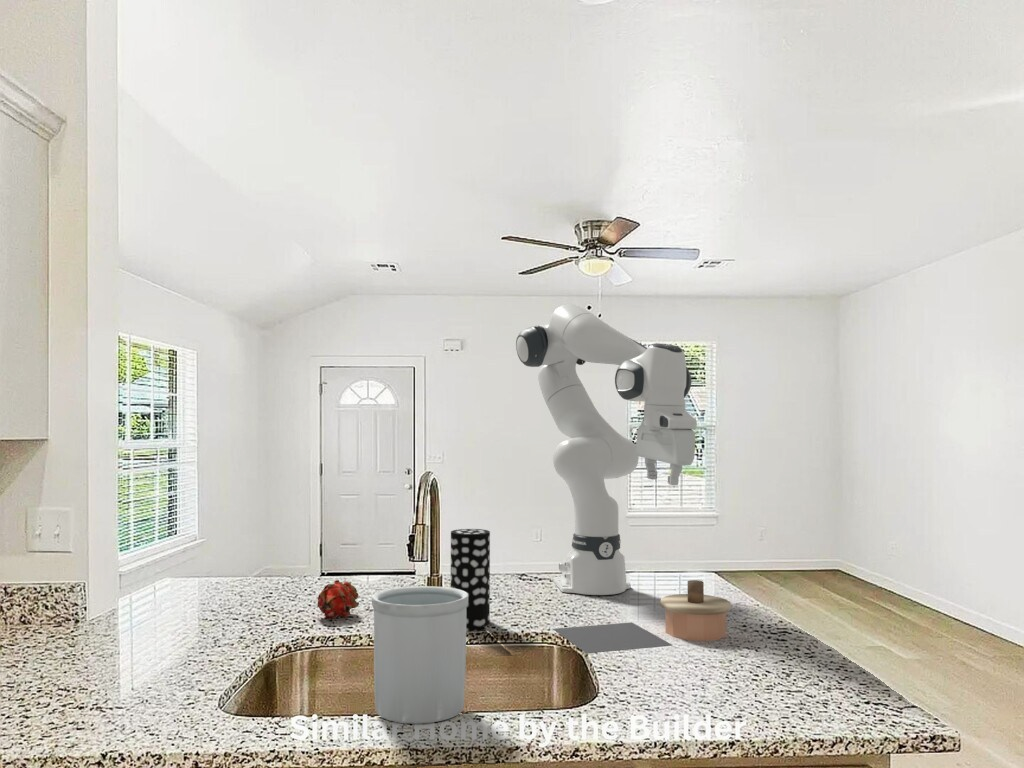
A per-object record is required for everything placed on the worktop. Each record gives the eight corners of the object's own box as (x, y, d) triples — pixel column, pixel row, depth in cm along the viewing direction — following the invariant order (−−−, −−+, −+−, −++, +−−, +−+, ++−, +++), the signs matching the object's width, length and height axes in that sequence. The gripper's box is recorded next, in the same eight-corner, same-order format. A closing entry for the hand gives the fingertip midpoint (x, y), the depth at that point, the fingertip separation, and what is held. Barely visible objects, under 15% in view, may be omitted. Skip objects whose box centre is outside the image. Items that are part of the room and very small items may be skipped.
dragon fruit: (354, 617, 194) (328, 638, 183) (325, 594, 195) (298, 613, 184) (372, 589, 192) (348, 609, 180) (343, 566, 193) (317, 584, 182)
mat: (552, 632, 175) (552, 628, 175) (631, 626, 181) (631, 622, 181) (586, 657, 158) (586, 652, 158) (672, 649, 164) (672, 645, 164)
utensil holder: (376, 692, 138) (376, 584, 139) (467, 691, 139) (468, 583, 140) (365, 727, 124) (366, 606, 124) (468, 725, 125) (468, 604, 125)
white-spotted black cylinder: (484, 632, 175) (484, 535, 176) (445, 630, 177) (446, 533, 178) (493, 622, 184) (493, 529, 184) (456, 620, 185) (456, 528, 186)
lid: (648, 601, 178) (648, 577, 178) (707, 596, 182) (707, 573, 182) (682, 617, 165) (682, 591, 165) (744, 611, 169) (744, 586, 169)
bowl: (655, 630, 177) (655, 602, 177) (706, 626, 181) (706, 598, 181) (684, 646, 166) (684, 615, 166) (737, 641, 169) (737, 611, 169)
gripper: (629, 415, 193) (628, 476, 194) (674, 421, 174) (671, 488, 174) (654, 415, 195) (652, 476, 195) (701, 421, 176) (699, 488, 176)
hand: (662, 482), depth 185 cm, fingers open, 8 cm apart
